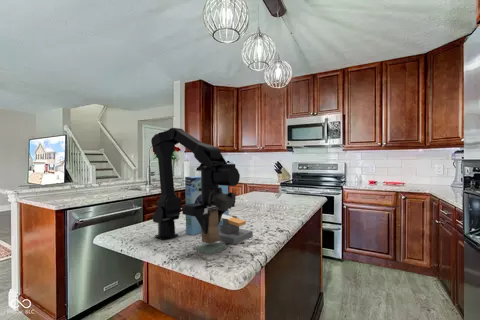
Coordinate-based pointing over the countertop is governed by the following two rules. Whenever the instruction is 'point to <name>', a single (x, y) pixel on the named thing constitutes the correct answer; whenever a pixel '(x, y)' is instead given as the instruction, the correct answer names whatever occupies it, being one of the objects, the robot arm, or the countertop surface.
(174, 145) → the robot arm
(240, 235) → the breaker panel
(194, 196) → the gum box
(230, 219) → the breaker rocker
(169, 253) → the countertop surface
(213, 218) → the wooden block
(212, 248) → the pad
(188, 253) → the countertop surface
